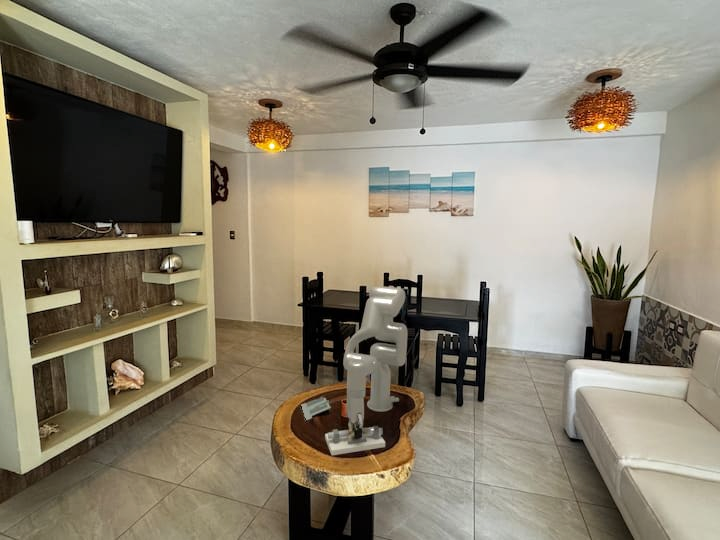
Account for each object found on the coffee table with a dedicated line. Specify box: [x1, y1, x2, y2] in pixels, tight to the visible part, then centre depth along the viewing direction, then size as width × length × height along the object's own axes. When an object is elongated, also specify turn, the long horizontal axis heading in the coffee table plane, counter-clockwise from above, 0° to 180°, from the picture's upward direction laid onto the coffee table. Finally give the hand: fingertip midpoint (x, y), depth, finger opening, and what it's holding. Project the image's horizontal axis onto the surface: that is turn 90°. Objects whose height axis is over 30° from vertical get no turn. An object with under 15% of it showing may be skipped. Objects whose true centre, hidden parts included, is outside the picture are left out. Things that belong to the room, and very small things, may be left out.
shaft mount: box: [324, 426, 386, 456], centre depth 148 cm, size 22×12×6 cm, turn 107°
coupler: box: [347, 419, 361, 440], centre depth 148 cm, size 6×4×7 cm
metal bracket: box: [300, 396, 332, 421], centre depth 173 cm, size 14×6×15 cm
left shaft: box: [362, 425, 384, 439], centre depth 149 cm, size 8×4×4 cm, turn 92°
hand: (354, 432), depth 148 cm, fingers open, 7 cm apart
